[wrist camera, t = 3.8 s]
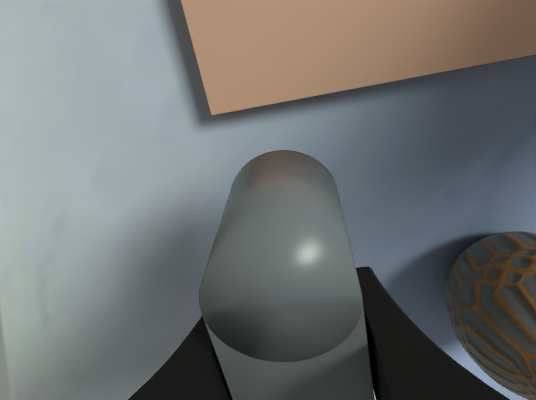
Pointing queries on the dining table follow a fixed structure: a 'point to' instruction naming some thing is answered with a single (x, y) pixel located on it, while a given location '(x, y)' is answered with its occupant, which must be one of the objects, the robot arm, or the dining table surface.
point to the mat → (345, 43)
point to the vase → (498, 308)
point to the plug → (286, 287)
